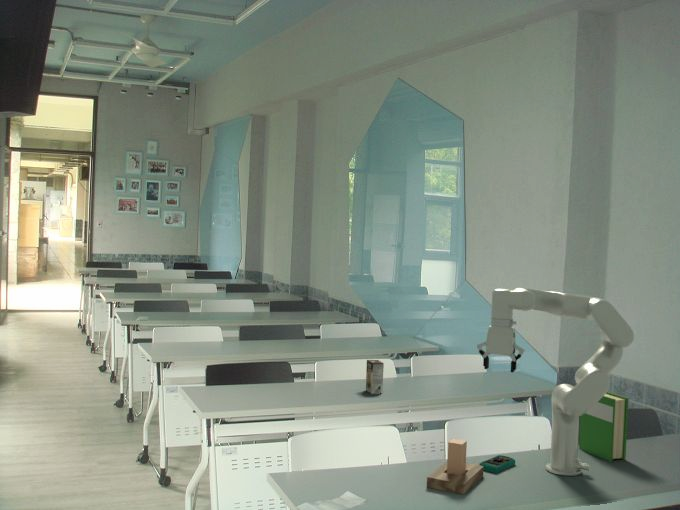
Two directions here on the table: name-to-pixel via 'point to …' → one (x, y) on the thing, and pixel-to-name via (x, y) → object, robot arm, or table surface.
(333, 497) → the table surface
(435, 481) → the wooden peg hole block
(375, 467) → the table surface
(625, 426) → the hardback book
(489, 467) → the digital multimeter
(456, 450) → the square peg
